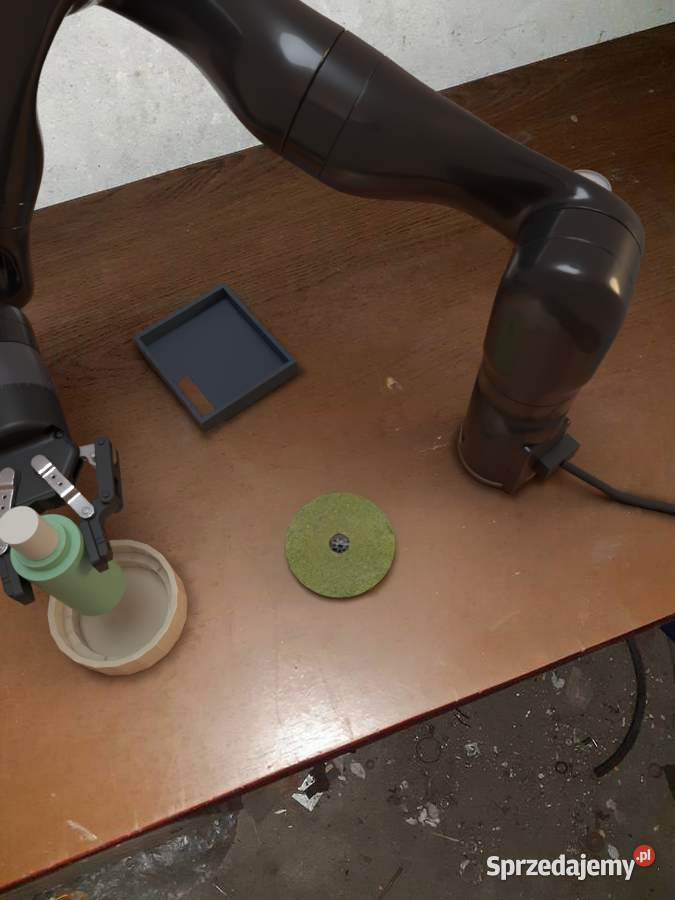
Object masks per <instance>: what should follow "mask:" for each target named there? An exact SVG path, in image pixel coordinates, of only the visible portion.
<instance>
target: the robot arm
mask: <svg viewBox="0 0 675 900" xmlns="http://www.w3.org/2000/svg"><path fill="white" fill-rule="evenodd" d="M93 6H97V7H99V8H100V7H101V8H103V9H106V10H108V11H110V12H112V13H114V14H116V15H117V16H120V17H122V18H124V19H126V20H128V21H129V22H131V23H133V24H135V25H136V26H138V27H140V28H142V29H143V30H145V31H146V32H148V33H150V34H152V35H153V36H155V37H157V38H159V39H160V40H162V41H163V42H165V43H166V44H168V45H169V46H171V47H172V48H173V49H175V50H176V51H177V52H179V54H181V55H182V56H183V57H185V58H186V59H187V60H188V62H190V63H191V64H192V65H193V66H194V68H196V69H197V70H198V72H199V73H201V75H202V76H203V77H204V79H205V80H206V81H207V82H208V84H210V86H211V87H212V89H213V90H214V91H215V93H216V94H217V95H218V97H219V98H220V99H221V101H222V102H223V103H224V104H225V105H226V107H227V108H228V109H229V111H230V112H231V113H232V115H234V117H235V118H236V119H237V120H238V121H239V122H240V124H241V125H242V126H243V127H244V128H245V129H246V130H247V131H248V132H249V133H250V134H251V135H252V136H253V137H254V138H255V139H256V140H258V141H259V142H260V143H261V144H262V145H263V146H265V147H266V148H268V149H269V150H271V152H273V153H275V154H276V155H277V156H279V157H282V159H284V160H285V161H287V162H288V163H290V164H291V165H293V166H294V167H296V168H298V169H300V170H301V171H303V172H304V173H306V174H307V175H309V176H311V177H312V178H313V179H315V180H317V181H319V182H320V183H322V184H324V185H325V186H327V187H329V188H331V189H333V190H335V191H338V192H340V193H342V194H346V195H349V196H353V197H358V198H364V199H371V200H381V201H392V202H393V201H394V202H412V203H413V202H414V203H425V204H434V205H440V206H444V207H448V208H451V209H453V210H457V211H459V212H461V213H464V214H466V215H468V216H470V217H471V218H474V219H476V220H477V221H479V222H481V223H482V224H484V225H485V226H487V227H489V228H491V229H492V230H494V231H495V232H497V233H498V234H500V235H501V236H503V237H504V238H505V239H506V240H508V241H509V242H510V243H511V244H513V248H512V251H511V253H510V256H509V259H508V261H507V264H506V267H505V269H504V271H503V273H502V276H501V278H500V281H499V283H498V287H497V289H496V293H495V296H494V298H493V303H492V307H491V310H490V314H489V318H488V322H487V326H486V331H485V334H484V339H483V343H482V351H483V353H482V356H481V360H480V363H479V367H478V370H477V374H476V377H475V381H474V384H473V388H472V390H471V395H470V399H469V402H468V406H467V409H466V413H465V417H464V419H462V421H461V425H460V433H459V435H458V440H457V454H458V458H459V461H460V463H461V465H462V466H463V468H464V469H465V470H466V472H467V473H468V474H469V475H470V476H471V477H472V478H473V479H475V480H476V481H478V482H480V483H482V484H484V485H487V486H489V487H494V488H500V489H502V490H503V491H505V493H506V494H508V495H511V494H513V493H514V492H515V491H516V490H517V489H519V488H520V487H521V486H523V485H524V484H525V483H527V482H529V481H530V480H531V479H532V478H533V477H535V475H537V476H539V478H540V479H541V480H542V481H545V480H547V479H548V478H549V477H550V476H551V475H553V474H554V473H555V472H557V470H559V469H562V470H564V471H565V472H567V473H569V474H570V475H572V476H574V477H575V478H578V479H579V480H581V481H582V482H584V483H586V484H588V485H589V486H591V487H593V488H595V489H596V490H598V491H600V492H602V493H603V494H605V495H606V496H608V497H610V498H612V499H614V500H617V501H619V502H622V503H625V504H627V505H631V506H635V507H638V508H644V509H649V510H653V511H659V512H664V513H667V514H668V513H669V514H673V515H675V504H674V503H669V502H664V501H659V500H653V499H648V498H644V497H640V496H635V495H632V494H629V493H626V492H623V491H621V490H619V489H616V488H614V487H613V486H611V485H610V484H608V483H607V482H604V481H603V480H601V479H599V478H597V477H596V476H594V475H592V474H591V473H588V472H587V471H585V470H584V469H582V468H581V467H579V466H577V465H575V464H573V463H572V462H570V460H571V459H572V458H574V456H575V455H576V454H577V452H578V450H580V449H579V448H580V447H581V444H580V443H579V442H578V441H577V440H576V439H575V438H573V436H572V435H570V433H568V432H567V431H568V429H569V428H570V426H571V425H572V420H571V419H570V418H569V417H568V414H569V412H570V410H571V408H572V406H573V405H574V403H575V401H576V399H577V397H578V395H579V393H580V392H581V390H582V388H583V387H584V386H586V385H587V384H589V382H590V381H591V380H592V379H593V377H594V376H595V374H596V372H597V371H598V370H599V368H600V366H601V364H602V363H603V361H604V360H605V359H606V356H607V355H608V353H609V351H610V349H611V348H612V346H613V344H614V343H615V341H616V339H617V338H618V335H619V333H620V331H621V329H622V328H623V325H624V322H625V320H626V317H627V313H628V311H629V306H630V303H631V300H632V296H633V293H634V292H633V291H634V288H635V285H636V281H637V279H638V275H639V271H640V268H641V266H642V265H641V264H642V261H643V256H644V253H645V245H646V244H645V243H646V236H645V235H646V234H645V229H644V226H643V224H642V220H641V219H640V217H639V215H638V214H637V212H635V210H634V209H633V208H632V207H631V206H630V205H629V204H628V203H627V202H626V201H625V200H623V199H622V198H621V197H620V196H618V195H617V194H616V193H614V192H613V191H612V190H611V191H609V190H608V189H606V188H604V187H603V186H601V185H599V184H597V183H596V182H594V181H592V180H590V179H588V178H586V177H584V176H582V175H580V174H579V173H577V172H575V171H576V170H573V169H571V168H569V167H567V166H565V165H563V164H562V163H560V162H557V161H555V160H554V159H551V158H549V157H548V156H546V155H543V154H541V152H538V151H536V150H534V149H530V148H528V147H526V146H525V145H523V144H521V143H519V142H517V141H515V140H513V139H512V138H510V137H508V136H509V135H507V136H506V134H504V133H503V132H501V131H500V130H499V129H497V128H495V127H493V126H491V125H490V124H489V123H487V122H486V121H483V119H481V118H480V117H478V116H477V115H475V114H473V113H472V112H471V111H470V112H471V113H470V112H468V111H467V110H468V109H467V110H465V109H466V108H465V109H464V107H463V106H461V105H459V104H457V103H456V102H454V101H453V100H452V99H449V98H448V97H447V96H445V95H443V94H442V93H440V92H438V91H437V90H435V89H433V88H432V87H430V86H429V85H428V84H426V83H424V82H423V81H421V80H420V79H418V78H417V77H415V76H414V75H413V74H411V73H410V72H409V71H407V70H406V69H405V68H403V66H400V65H399V64H398V63H397V62H395V61H394V60H392V59H391V58H390V57H389V56H388V55H385V53H383V52H382V51H380V50H379V49H377V48H375V47H374V46H372V45H371V44H370V43H368V42H367V41H365V40H364V39H362V38H361V37H359V36H357V35H356V34H355V33H354V32H351V31H350V30H349V29H346V28H345V26H343V25H341V24H339V23H337V22H336V21H334V20H333V19H331V18H329V17H328V16H325V14H322V13H321V12H319V11H317V10H315V9H314V8H312V7H311V6H309V5H308V4H307V3H305V2H303V1H302V0H0V519H1V517H2V516H3V515H4V514H5V513H6V512H7V511H8V510H10V509H12V508H15V507H18V506H26V507H30V508H32V509H33V510H34V511H35V512H37V513H38V514H39V515H40V516H41V515H42V514H44V513H45V512H47V511H50V510H57V509H59V508H62V507H64V506H66V504H67V505H68V506H69V507H70V508H71V509H72V510H73V511H74V512H75V513H76V514H77V515H78V517H80V521H81V522H79V523H78V527H79V528H80V530H81V533H82V536H83V539H84V543H85V546H86V549H87V552H88V555H89V559H90V562H91V564H92V566H93V567H94V568H95V569H96V570H97V571H98V572H99V573H101V572H104V571H106V570H108V569H109V565H108V562H109V561H111V560H113V551H112V548H111V545H110V542H109V541H110V539H109V536H108V533H107V529H106V526H105V523H106V520H107V519H109V517H110V516H112V515H113V514H119V513H120V512H122V511H123V509H124V497H123V487H122V477H121V467H120V466H121V465H120V455H119V451H118V450H117V448H116V447H115V445H114V443H113V442H112V441H111V440H110V438H109V437H108V436H106V435H99V436H97V437H96V438H95V439H94V442H93V443H90V444H89V443H88V444H86V445H78V444H77V443H76V442H75V441H74V439H73V436H72V434H71V431H70V428H69V425H68V421H67V418H66V415H65V412H64V409H63V406H62V403H61V401H60V393H59V390H58V387H57V386H56V385H55V382H54V379H53V376H52V374H51V372H50V371H49V368H48V367H47V365H46V363H45V361H44V357H43V356H42V353H41V349H40V346H39V344H38V340H37V336H36V334H35V331H34V327H33V325H32V323H31V321H30V319H29V317H28V316H27V315H26V313H24V311H23V309H24V308H25V307H26V306H27V305H28V304H29V303H30V302H31V301H32V299H33V297H34V293H35V289H36V284H35V283H36V282H35V273H34V267H33V259H32V253H31V226H32V220H33V217H34V212H35V208H36V204H37V202H38V201H37V200H38V197H39V193H40V189H41V185H42V181H43V176H44V170H45V169H44V168H45V141H44V136H43V135H44V134H43V130H42V125H41V122H40V117H39V110H38V92H39V85H40V80H41V76H42V72H43V69H44V66H45V62H46V60H47V57H48V54H49V52H50V49H51V48H52V45H53V43H54V40H55V38H56V37H57V36H56V35H57V34H58V32H59V30H60V28H61V26H62V23H63V22H64V21H65V18H67V17H70V16H72V15H75V14H78V13H81V12H82V11H84V10H87V9H88V8H91V7H93ZM85 462H88V464H90V466H91V467H92V469H94V470H95V471H96V484H97V494H98V495H97V497H96V498H94V499H93V500H91V502H90V501H89V500H88V499H87V498H86V497H85V496H84V495H83V494H82V493H81V492H80V491H79V490H78V489H77V488H76V485H77V482H78V480H79V477H80V474H81V473H82V469H83V467H84V464H85ZM10 551H11V547H10V546H9V545H7V544H6V543H5V542H3V541H2V540H1V539H0V580H1V584H2V589H3V592H4V593H5V595H6V596H7V597H9V598H10V599H12V600H13V601H15V602H18V603H19V604H22V605H24V606H27V605H28V606H29V605H30V604H32V603H34V602H36V596H35V593H34V589H33V586H32V583H31V582H30V581H28V580H27V579H25V578H23V577H22V576H21V575H19V574H18V573H17V572H16V570H15V569H14V567H13V565H12V562H11V557H10Z"/></svg>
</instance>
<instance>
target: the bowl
mask: <svg viewBox="0 0 675 900" xmlns="http://www.w3.org/2000/svg"><path fill="white" fill-rule="evenodd" d="M109 542H110V545H111V548H112V551H113V561H115V562H116V563H117V564H118V565H119V566H120V567H121V569H122V570H123V572H124V575H125V581H126V585H125V591H124V594H123V596H122V598H121V599H120V601H119V602H118V604H117V605H116V606H115V607H114V608H112V609H111V610H110V611H108V612H106V613H104V614H102V615H98V616H85V615H81V614H79V613H77V612H76V611H74V610H73V609H71V608H70V607H68V606H67V605H65V604H64V603H62V602H60V601H59V600H57V599H56V598H54V597H53V596H51V595H50V594H49V601H48V606H47V614H46V616H47V621H48V626H49V632H50V635H51V637H52V638H53V640H54V642H55V644H56V645H57V647H58V649H59V650H60V651H61V652H62V653H63V654H65V655H66V656H67V657H68V658H69V659H71V660H72V661H73V662H75V663H76V664H79V665H81V666H83V667H85V668H86V669H89V670H91V671H94V672H97V673H101V674H103V675H106V676H130V675H133V674H135V673H139V672H141V671H144V670H146V669H147V670H148V669H149V668H151V667H152V666H153V665H155V664H156V663H157V662H159V661H160V660H161V659H163V658H164V657H166V655H168V654H169V652H170V651H171V650H172V648H173V647H174V646H175V644H176V643H177V642H178V640H179V639H180V637H181V635H182V632H183V629H184V627H185V624H186V621H187V617H188V604H189V603H188V602H189V601H188V596H187V592H186V589H185V584H184V582H183V580H182V578H181V577H180V576H179V575H178V573H177V572H176V570H175V569H174V567H173V566H172V565H171V563H170V562H169V561H168V560H167V559H166V558H165V556H164V555H163V554H162V553H160V552H159V551H158V550H157V549H156V548H153V547H152V546H151V545H149V544H146V543H144V542H141V541H136V540H132V539H109Z"/></svg>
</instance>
